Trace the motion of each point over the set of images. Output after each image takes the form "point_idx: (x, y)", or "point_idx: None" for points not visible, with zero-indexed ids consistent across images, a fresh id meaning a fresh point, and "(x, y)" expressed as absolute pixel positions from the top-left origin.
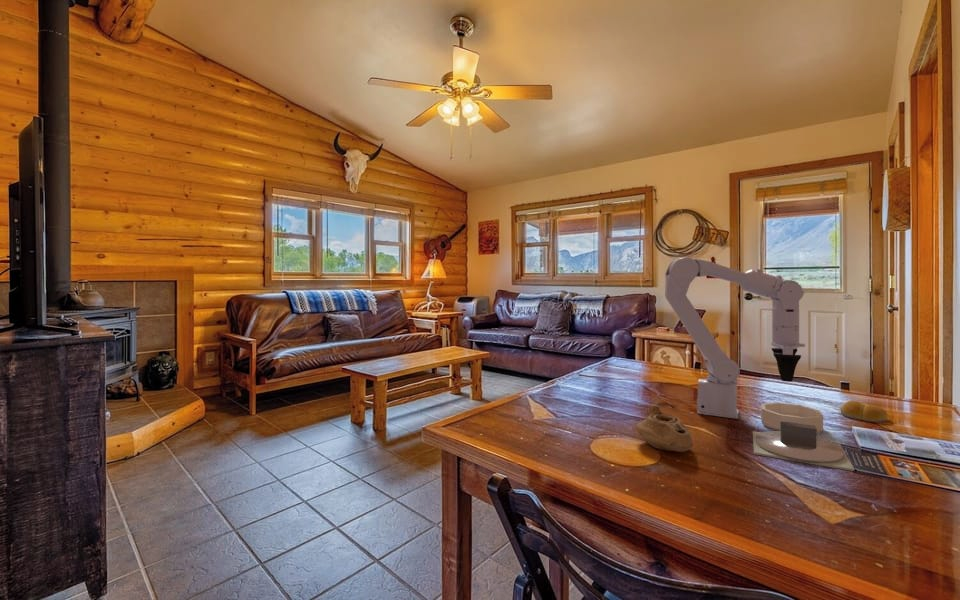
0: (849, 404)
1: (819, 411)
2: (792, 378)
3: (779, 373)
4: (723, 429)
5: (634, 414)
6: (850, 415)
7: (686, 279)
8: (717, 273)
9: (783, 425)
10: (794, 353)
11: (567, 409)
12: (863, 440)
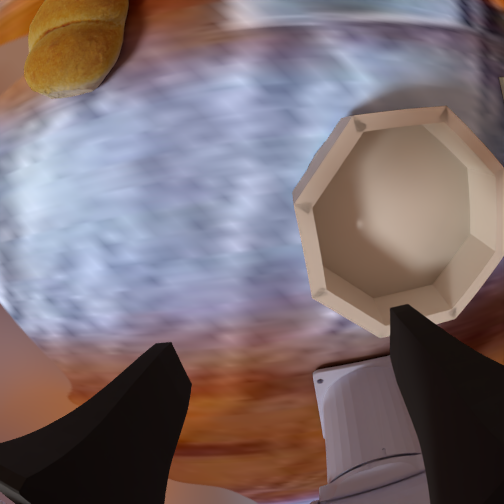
0: (72, 60)
1: (369, 117)
2: (421, 314)
3: (188, 392)
4: (500, 344)
5: None
6: (117, 54)
7: None
8: None
9: None
10: (62, 469)
11: None
12: (400, 4)
